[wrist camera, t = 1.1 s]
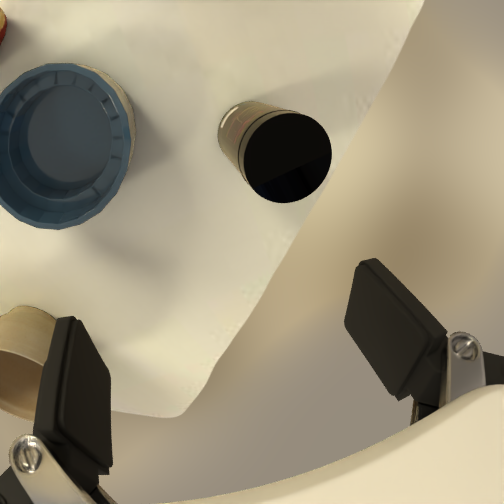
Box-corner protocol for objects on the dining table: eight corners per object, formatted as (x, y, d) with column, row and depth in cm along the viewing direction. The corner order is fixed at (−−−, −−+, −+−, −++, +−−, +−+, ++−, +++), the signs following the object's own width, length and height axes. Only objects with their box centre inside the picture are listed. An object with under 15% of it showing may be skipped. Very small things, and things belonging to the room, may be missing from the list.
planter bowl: (68, 377, 40) (63, 435, 31) (-17, 335, 31) (-36, 391, 22) (105, 320, 36) (101, 389, 27) (0, 263, 27) (-33, 325, 18)
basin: (-3, 93, 18) (-31, 99, 14) (127, 49, 21) (119, 42, 17) (27, 217, 26) (9, 243, 22) (146, 188, 29) (144, 210, 25)
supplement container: (258, 175, 32) (299, 217, 23) (203, 145, 28) (224, 178, 20) (292, 122, 29) (347, 145, 21) (239, 87, 26) (278, 93, 18)
